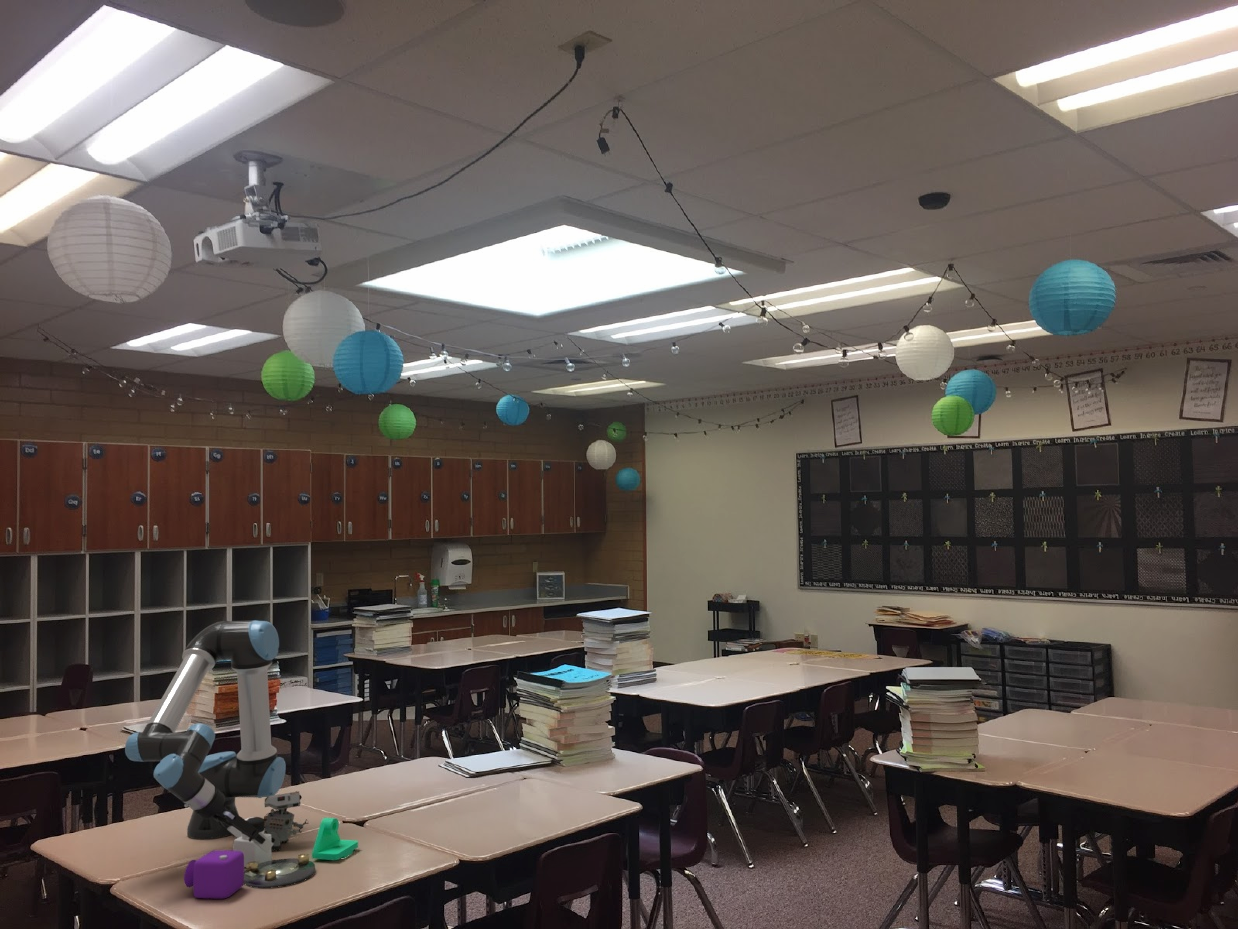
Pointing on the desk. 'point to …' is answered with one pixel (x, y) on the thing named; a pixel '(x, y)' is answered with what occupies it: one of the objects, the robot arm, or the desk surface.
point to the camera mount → (331, 842)
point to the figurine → (281, 818)
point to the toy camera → (216, 874)
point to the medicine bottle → (252, 844)
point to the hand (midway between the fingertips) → (258, 843)
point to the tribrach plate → (278, 872)
